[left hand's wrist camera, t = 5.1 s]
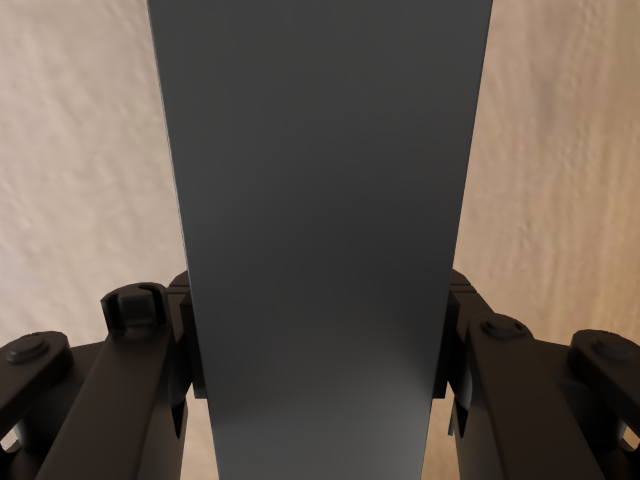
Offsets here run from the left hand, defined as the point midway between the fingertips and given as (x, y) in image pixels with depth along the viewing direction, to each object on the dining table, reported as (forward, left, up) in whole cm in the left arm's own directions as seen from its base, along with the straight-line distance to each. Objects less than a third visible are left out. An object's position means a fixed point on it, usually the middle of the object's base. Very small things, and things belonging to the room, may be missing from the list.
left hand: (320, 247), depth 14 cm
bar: (+9, 0, -1) cm, 9 cm away
